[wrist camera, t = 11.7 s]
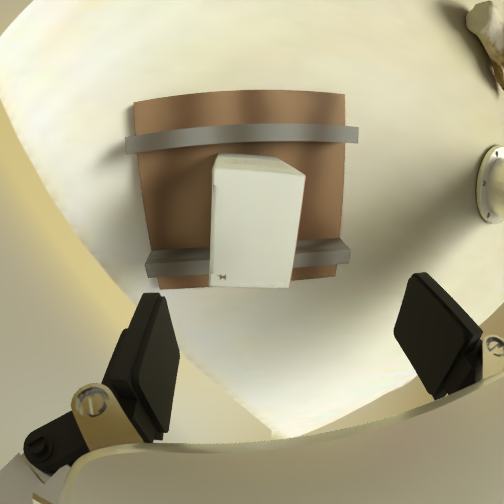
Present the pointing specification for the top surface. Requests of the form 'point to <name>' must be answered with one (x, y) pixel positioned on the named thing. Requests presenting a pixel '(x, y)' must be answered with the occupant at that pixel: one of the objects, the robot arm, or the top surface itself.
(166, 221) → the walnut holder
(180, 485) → the robot arm
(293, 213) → the small box
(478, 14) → the ceramic sculpture
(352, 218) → the top surface
